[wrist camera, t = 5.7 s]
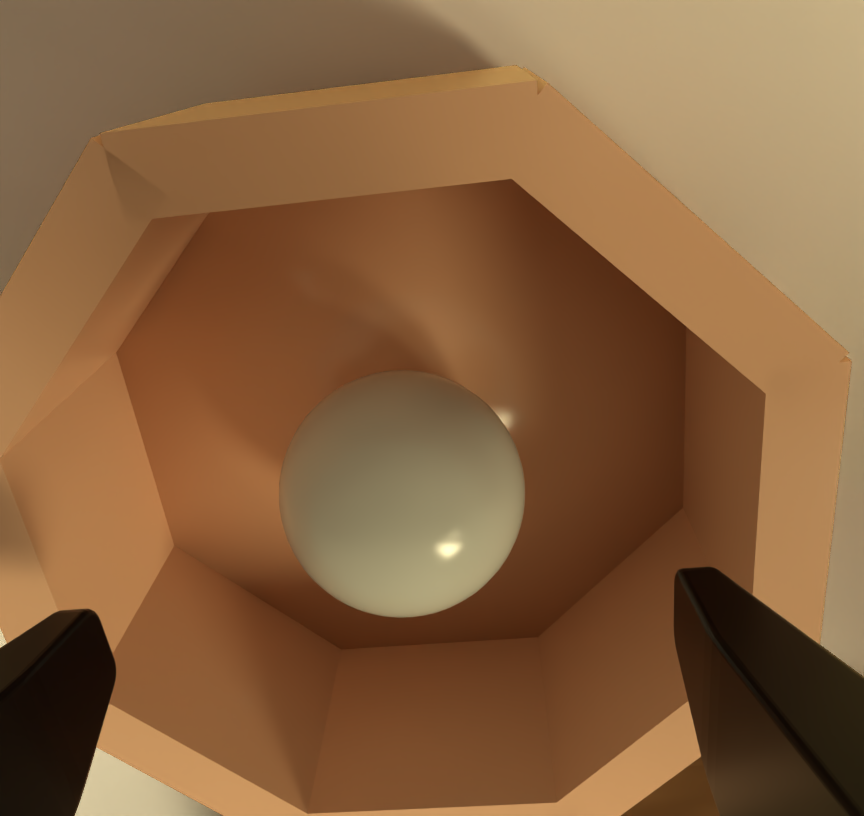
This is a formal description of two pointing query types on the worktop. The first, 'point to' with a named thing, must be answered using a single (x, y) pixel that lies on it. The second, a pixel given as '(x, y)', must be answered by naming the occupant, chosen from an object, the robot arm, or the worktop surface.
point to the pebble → (401, 493)
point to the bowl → (383, 351)
